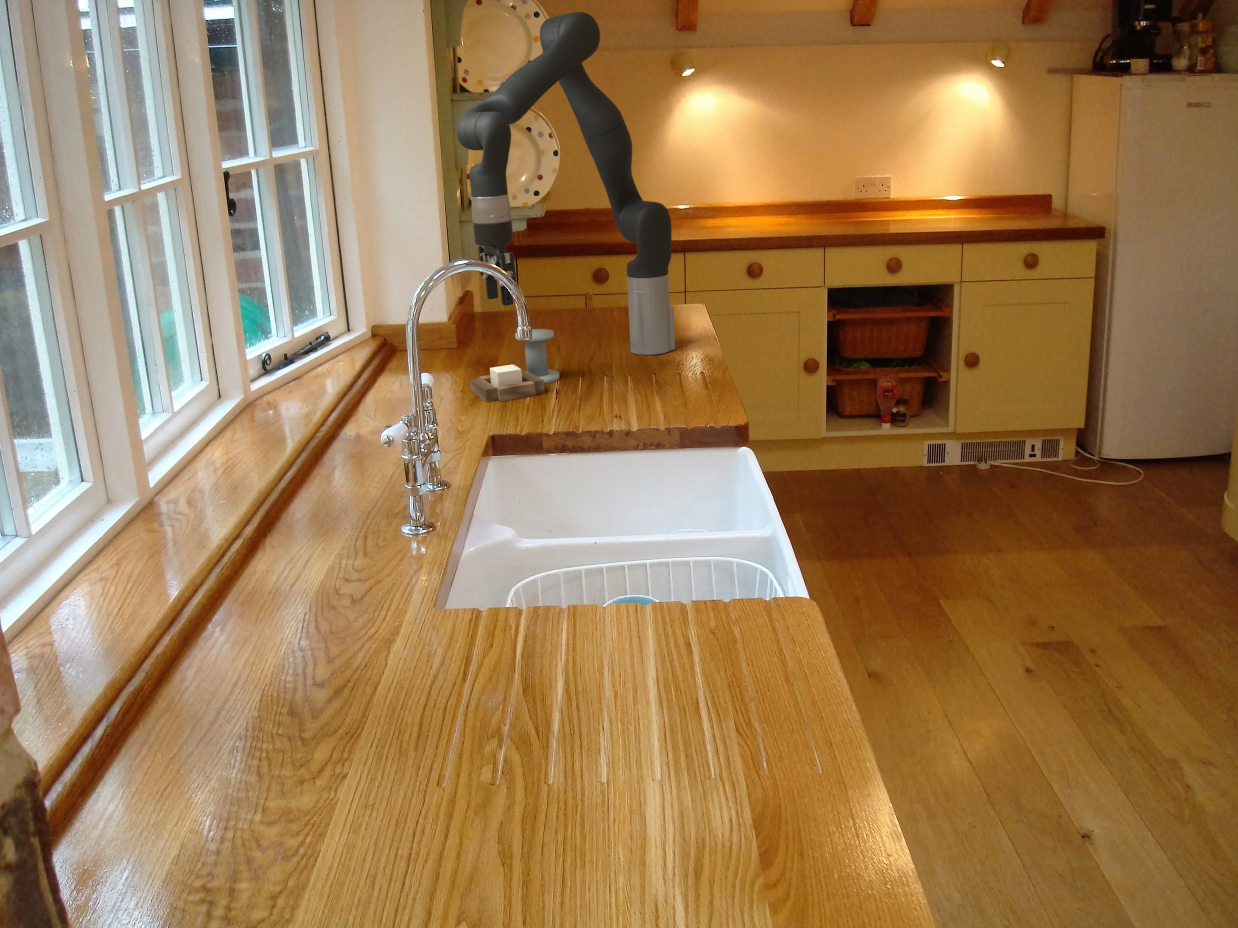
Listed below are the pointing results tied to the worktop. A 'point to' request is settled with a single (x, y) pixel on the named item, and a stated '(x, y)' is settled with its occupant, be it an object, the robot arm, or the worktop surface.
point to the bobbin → (539, 355)
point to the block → (505, 375)
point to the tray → (507, 388)
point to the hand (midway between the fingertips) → (500, 301)
